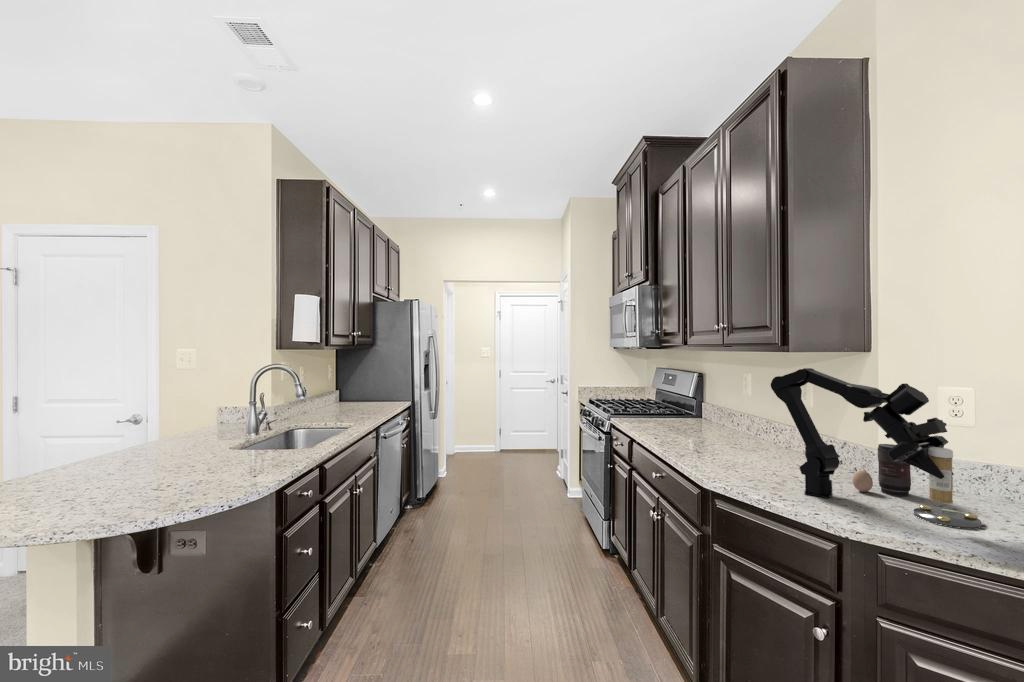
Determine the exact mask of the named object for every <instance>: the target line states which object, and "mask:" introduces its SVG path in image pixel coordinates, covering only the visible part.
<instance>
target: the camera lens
mask: <svg viewBox="0 0 1024 682" xmlns="http://www.w3.org/2000/svg"><path fill="white" fill-rule="evenodd" d="M895 445H896V444H893V443H892V444H891V443H878V447H877V461H878V479H877V480H878V485H879V487H880V491H881V492H882V493H883V494H885V493H886V494H885V495H888V494H889V496H893V495H895V497H908V496H909V495H910V492H911V486H912V476H911V475H912V474H911V465H910V464H908V463H904V462H903V460H905V459H906V457H905V455H904V456H902V457H900V458H901V460H899V461H893V460H892V459H891V458H890V457H889V456H888V450H889V449H891V448H892V447H894V446H895Z"/></svg>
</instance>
